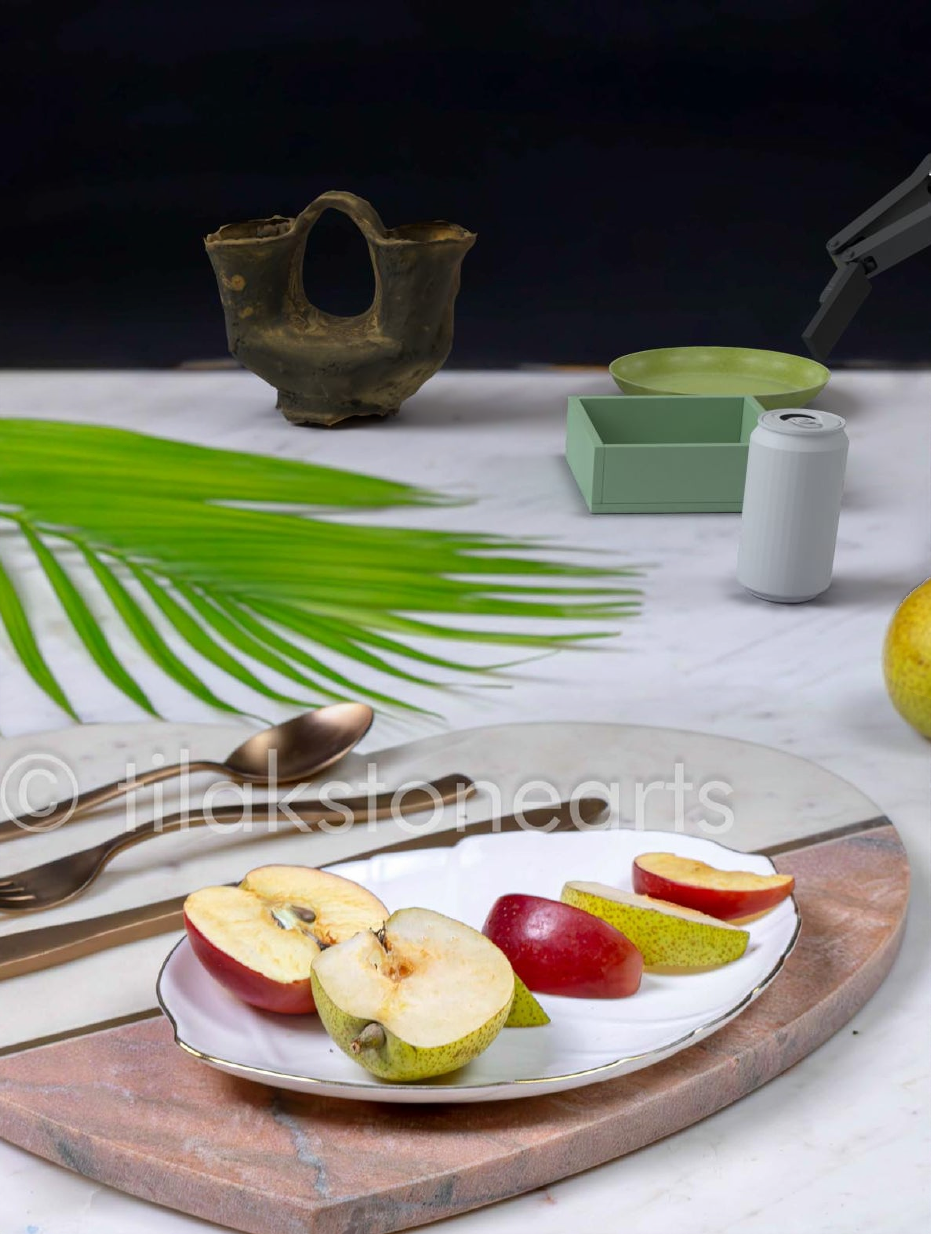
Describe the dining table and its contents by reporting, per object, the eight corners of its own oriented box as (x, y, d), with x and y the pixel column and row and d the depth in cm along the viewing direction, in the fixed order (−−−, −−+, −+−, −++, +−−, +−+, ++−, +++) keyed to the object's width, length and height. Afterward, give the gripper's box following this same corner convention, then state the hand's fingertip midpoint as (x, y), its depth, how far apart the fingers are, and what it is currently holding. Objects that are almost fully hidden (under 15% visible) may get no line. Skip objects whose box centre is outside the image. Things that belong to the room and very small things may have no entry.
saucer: (861, 396, 164) (865, 362, 163) (769, 443, 150) (773, 407, 148) (669, 366, 175) (672, 335, 174) (566, 408, 161) (568, 373, 159)
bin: (745, 455, 146) (751, 394, 144) (789, 511, 132) (797, 445, 130) (565, 457, 146) (568, 396, 144) (590, 513, 132) (594, 447, 130)
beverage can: (808, 571, 120) (829, 403, 115) (843, 603, 115) (867, 428, 109) (722, 576, 119) (738, 407, 114) (753, 608, 114) (772, 432, 108)
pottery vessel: (483, 409, 160) (489, 188, 151) (460, 440, 151) (466, 206, 142) (230, 394, 166) (222, 179, 157) (194, 422, 156) (182, 196, 147)
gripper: (1244, 172, 111) (1072, 437, 110) (921, 138, 129) (770, 366, 127) (1221, 89, 106) (1041, 366, 104) (887, 65, 123) (729, 303, 122)
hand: (891, 367), depth 116 cm, fingers open, 13 cm apart
